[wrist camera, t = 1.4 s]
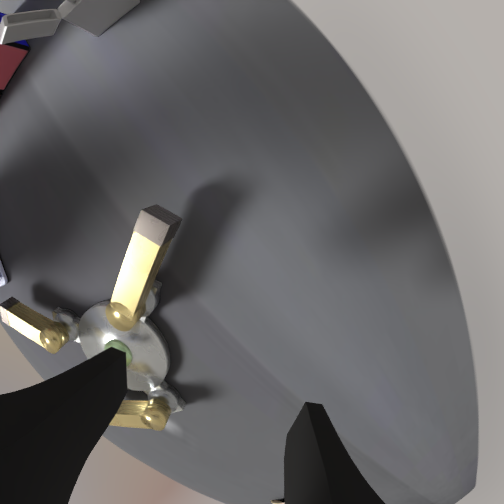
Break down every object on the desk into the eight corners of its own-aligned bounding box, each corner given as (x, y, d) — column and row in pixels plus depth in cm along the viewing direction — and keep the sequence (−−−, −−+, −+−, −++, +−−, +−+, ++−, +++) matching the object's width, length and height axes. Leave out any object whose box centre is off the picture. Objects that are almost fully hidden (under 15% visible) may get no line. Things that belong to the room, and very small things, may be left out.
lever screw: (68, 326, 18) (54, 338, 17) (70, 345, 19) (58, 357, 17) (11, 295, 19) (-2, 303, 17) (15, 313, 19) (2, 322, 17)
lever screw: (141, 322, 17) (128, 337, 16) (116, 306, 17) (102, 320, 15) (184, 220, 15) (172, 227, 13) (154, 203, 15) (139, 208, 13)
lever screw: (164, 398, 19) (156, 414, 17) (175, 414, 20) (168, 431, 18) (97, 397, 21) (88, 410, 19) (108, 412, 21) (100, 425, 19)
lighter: (132, -9, 12) (75, -59, 5) (141, 1, 13) (82, -52, 5) (63, 53, 14) (-9, 30, 6) (69, 65, 14) (-8, 43, 7)
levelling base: (46, 295, 20) (36, 301, 19) (154, 263, 18) (145, 271, 17) (109, 406, 23) (103, 414, 22) (219, 405, 21) (215, 416, 20)
